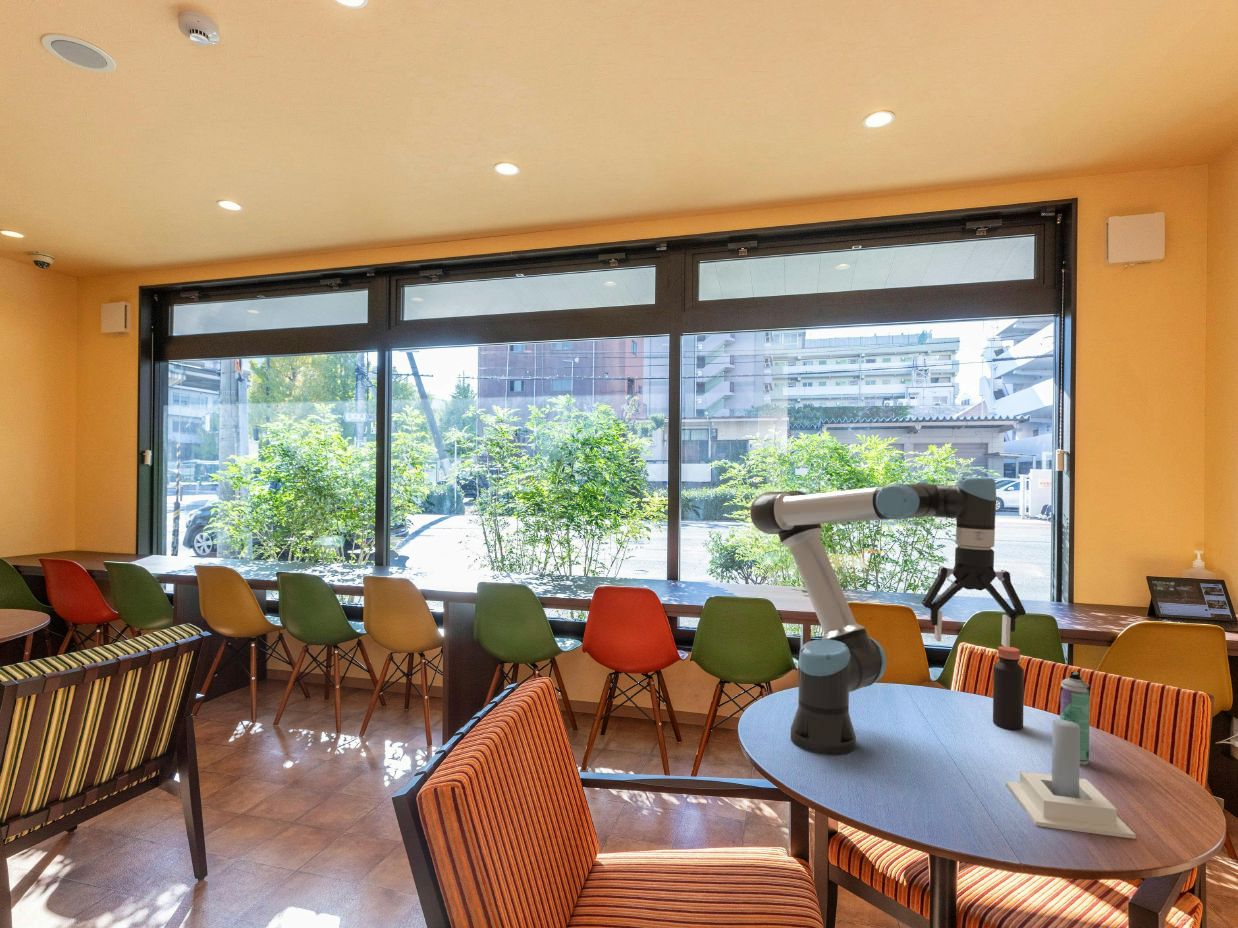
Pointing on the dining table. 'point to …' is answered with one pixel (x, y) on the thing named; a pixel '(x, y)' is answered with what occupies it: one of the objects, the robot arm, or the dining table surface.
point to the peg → (1065, 758)
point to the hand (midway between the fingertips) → (971, 642)
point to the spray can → (1077, 709)
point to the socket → (1067, 807)
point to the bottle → (1008, 689)
